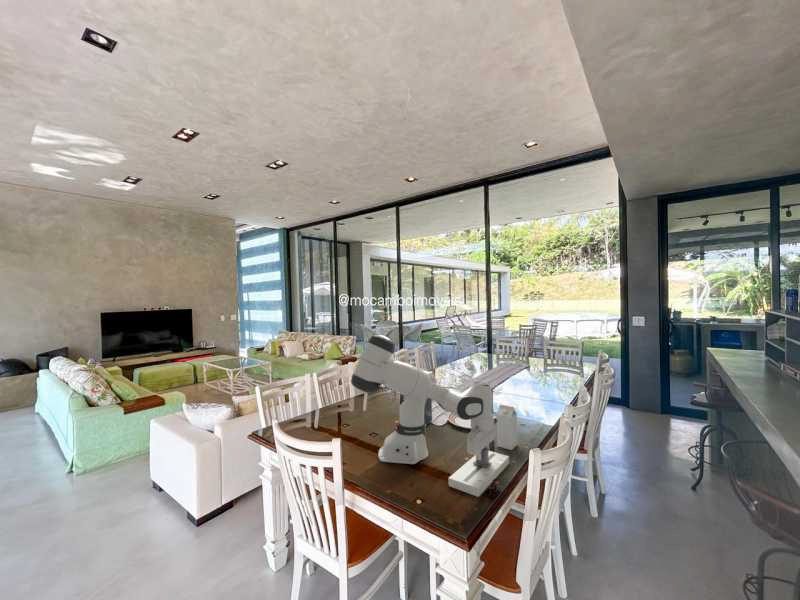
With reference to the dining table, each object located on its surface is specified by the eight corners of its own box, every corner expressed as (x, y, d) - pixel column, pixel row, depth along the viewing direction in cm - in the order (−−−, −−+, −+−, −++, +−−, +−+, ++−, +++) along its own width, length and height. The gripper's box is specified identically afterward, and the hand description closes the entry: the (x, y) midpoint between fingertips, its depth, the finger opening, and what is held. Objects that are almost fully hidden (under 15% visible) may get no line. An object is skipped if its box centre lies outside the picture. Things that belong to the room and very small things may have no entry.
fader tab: (487, 468, 132) (486, 452, 132) (473, 463, 136) (472, 448, 136) (491, 463, 136) (491, 448, 136) (477, 459, 140) (477, 444, 140)
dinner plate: (499, 434, 174) (499, 428, 174) (446, 431, 179) (446, 425, 179) (495, 416, 200) (495, 410, 200) (449, 413, 206) (449, 408, 206)
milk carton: (502, 441, 165) (502, 402, 165) (517, 445, 160) (516, 405, 160) (496, 446, 159) (496, 406, 159) (511, 450, 155) (511, 409, 155)
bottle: (425, 425, 188) (424, 371, 188) (411, 420, 194) (410, 368, 194) (435, 420, 195) (434, 368, 195) (421, 416, 202) (421, 366, 201)
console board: (478, 497, 119) (478, 488, 119) (448, 485, 126) (448, 477, 126) (509, 463, 143) (509, 456, 143) (482, 455, 150) (482, 448, 150)
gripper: (477, 432, 126) (478, 469, 126) (499, 417, 142) (499, 450, 142) (462, 428, 130) (462, 464, 130) (485, 414, 146) (485, 446, 146)
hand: (482, 457), depth 136 cm, fingers closed on fader tab, 3 cm apart
